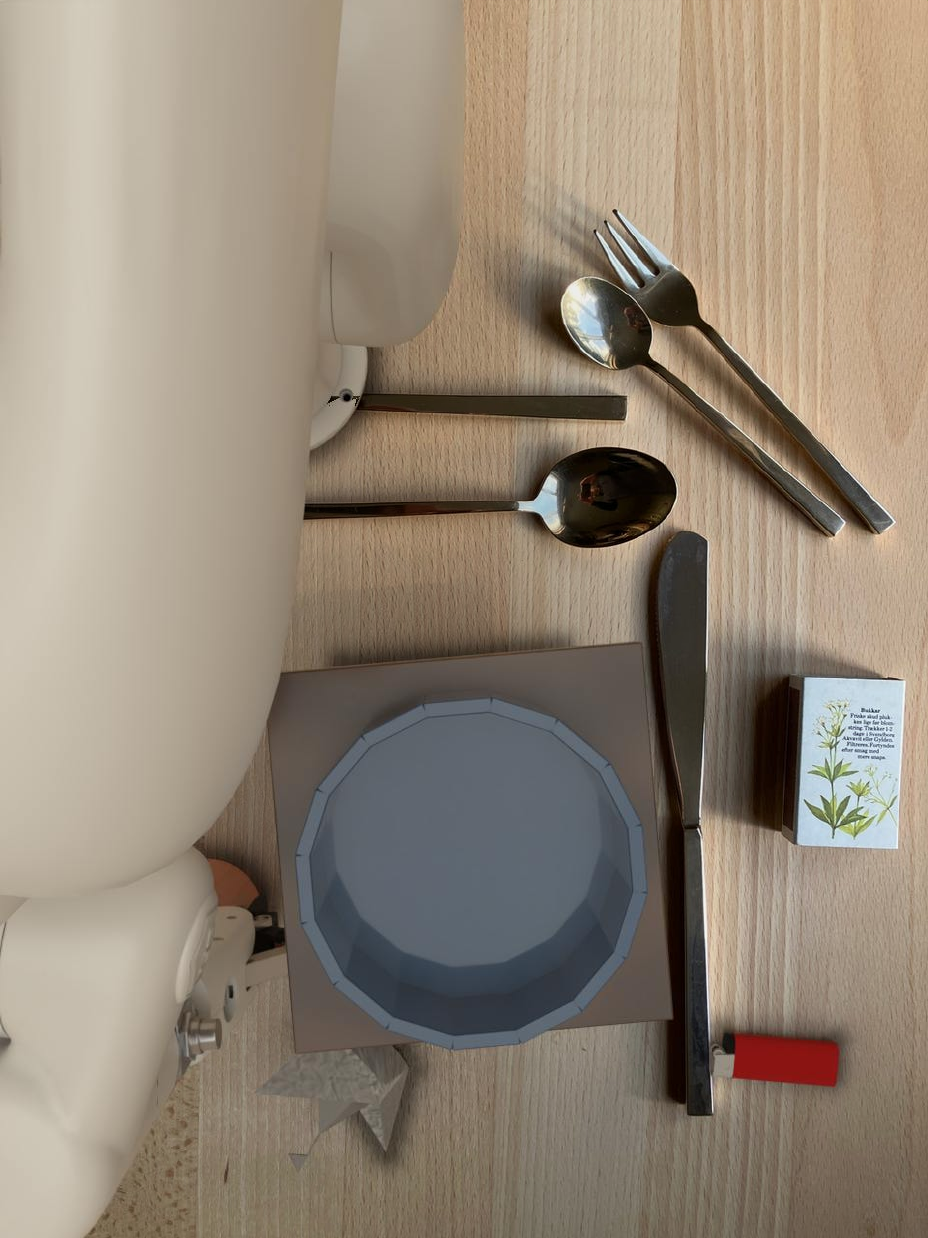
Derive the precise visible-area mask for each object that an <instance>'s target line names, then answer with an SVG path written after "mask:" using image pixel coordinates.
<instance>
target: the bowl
mask: <svg viewBox="0 0 928 1238" xmlns="http://www.w3.org/2000/svg"><path fill="white" fill-rule="evenodd" d="M641 823H642V822H641V820H640V818H639V816H638V814H637V812H636V810H635V808H634V806H633V804H632V802H631V801H630V799H629V797H628V795H627V793H626V791H625V789H624V787H623V785H622V783H621V781H620V779H619V777H618V775H617V773H616V771H615V769H614V767H613V766H612V764H611V763H610V762H609V761H608V760H607V759H606V758H605V757H604V756H603V755H602V754H600V753H599V752H598V751H597V750H596V749H595V748H594V747H592V746H591V745H590V744H589V743H588V742H586V741H585V740H584V739H583V738H582V737H581V736H579V735H578V734H577V733H576V732H575V731H573V730H572V729H571V728H570V727H569V726H568V725H566V724H565V723H564V722H563V721H562V720H560V719H559V718H558V717H557V716H556V715H555V714H553V713H552V712H551V711H550V710H549V709H547V708H545V707H543V706H540V705H537V704H534V703H530V702H527V701H524V700H521V699H518V698H515V697H511V696H508V695H505V694H502V693H499V692H496V691H493V690H489V689H487V690H486V689H479V690H467V691H455V692H443V693H432V694H426V695H422V696H420V697H418V698H416V699H414V700H412V701H410V702H408V703H407V704H405V705H403V706H401V707H399V708H397V709H395V710H393V711H391V712H389V713H387V714H385V715H383V716H381V717H379V718H377V719H376V720H374V721H372V722H370V723H369V724H368V725H367V726H366V727H365V728H364V730H363V731H362V732H361V733H360V734H359V735H358V737H357V738H356V739H355V740H354V741H353V743H352V744H351V745H350V746H349V747H348V748H347V750H346V751H345V752H344V753H343V754H342V756H341V757H340V758H339V759H338V760H337V761H336V763H335V764H334V765H333V766H332V767H331V769H330V770H329V771H328V773H327V774H326V775H325V777H324V778H323V779H322V781H321V782H320V783H319V785H318V786H317V788H316V789H315V792H314V795H313V798H312V801H311V804H310V807H309V810H308V813H307V817H306V820H305V823H304V826H303V829H302V832H301V835H300V839H299V842H298V845H297V848H296V851H295V854H296V855H295V868H296V880H297V891H298V903H299V915H300V922H301V923H302V924H301V926H302V928H303V930H304V932H305V934H306V936H307V938H308V940H309V942H310V944H311V946H312V948H313V949H314V951H315V953H316V955H317V957H318V959H319V961H320V963H321V965H322V967H323V969H324V971H325V973H326V974H327V976H328V978H329V980H330V982H331V984H332V985H334V987H335V988H336V989H337V990H338V991H340V992H341V993H342V994H343V995H344V996H346V997H347V998H348V999H349V1000H350V1001H352V1002H353V1003H354V1004H355V1005H356V1006H358V1007H359V1008H360V1009H361V1010H362V1011H364V1012H365V1013H366V1014H367V1015H368V1016H370V1017H371V1018H372V1019H373V1020H374V1021H376V1022H377V1023H378V1024H379V1025H380V1026H382V1027H383V1028H384V1029H386V1028H387V1030H388V1031H390V1032H393V1033H397V1034H400V1035H403V1036H406V1037H410V1038H413V1039H416V1040H419V1041H422V1043H426V1044H429V1045H433V1046H435V1047H439V1048H442V1049H445V1050H449V1051H464V1050H475V1049H485V1048H486V1049H487V1048H497V1047H507V1046H519V1045H523V1044H525V1043H527V1042H529V1041H531V1040H533V1039H534V1038H537V1037H538V1036H540V1035H542V1034H544V1033H546V1032H549V1031H548V1030H550V1029H552V1028H554V1027H556V1026H557V1025H559V1024H561V1023H563V1022H565V1021H567V1020H569V1019H571V1018H573V1017H575V1016H577V1015H578V1014H580V1013H582V1011H583V1010H585V1008H586V1007H587V1006H588V1005H589V1004H590V1002H591V1001H592V1000H593V999H594V998H595V996H596V995H597V994H598V993H599V992H600V990H601V989H602V988H603V987H604V986H605V985H606V983H607V982H608V981H609V980H610V979H611V977H612V976H613V975H614V974H615V973H616V971H617V970H618V969H619V968H620V967H621V965H622V964H623V963H624V962H625V961H626V958H628V955H629V952H630V949H631V946H632V943H633V940H634V936H635V933H636V930H637V927H638V924H639V921H640V918H641V915H642V911H643V908H644V905H645V902H646V899H647V896H648V893H647V892H648V883H647V871H646V859H645V847H644V835H643V826H642V824H641Z"/></svg>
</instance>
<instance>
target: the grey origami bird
mask: <svg viewBox="0 0 928 1238" xmlns="http://www.w3.org/2000/svg"><path fill="white" fill-rule="evenodd" d="M409 1070H410V1067H409V1065H408V1064H407V1062H406V1061H405V1059H404V1057H403V1056H402V1054H401V1053H400V1052H399V1051H398V1050H397V1049H396V1048H395V1047H394V1045H389V1046H378V1047H367V1048H357V1049H346V1050H335V1051H324V1052H313V1053H302V1054H294V1056H292V1058H290V1059H289V1060H288V1061H287V1062H285V1064H284V1065H283V1066H282V1067H281V1068H279V1069H278V1070H277V1071H276V1072H275V1073H274V1074H273V1075H272V1076H271V1077H270V1078H268V1079H267V1080H266V1081H265V1082H264V1083H263V1084H262V1085H261V1086H259V1088H258V1089H257V1090H256V1091H254V1093H253V1095H265V1096H277V1097H278V1096H279V1097H290V1098H300V1099H301V1098H302V1099H313V1100H318V1134H317V1136H316V1138H315V1140H314V1141H313V1143H312V1144H311V1147H310V1148H309V1150H308V1151H307V1153H305V1154H304V1153H290V1152H288V1155H289V1158H290V1159H291V1162H292V1163H293V1166H294V1168H295V1170H296V1172H297V1173H300V1171H301V1170H302V1168H303V1166H304V1164H305V1163H306V1161H307V1159H308V1157H309V1155H310V1154H311V1152H312V1150H313V1149H314V1147H315V1145H316V1144H317V1142H318V1140H319V1138H320V1136H321V1135H322V1134H324V1133H325V1132H327V1131H329V1130H330V1129H332V1128H333V1127H335V1126H336V1125H338V1124H340V1123H341V1122H343V1121H344V1120H346V1119H347V1118H349V1117H351V1116H353V1115H354V1114H356V1113H357V1112H360V1113H361V1115H362V1116H363V1118H364V1120H365V1121H366V1123H367V1125H368V1126H369V1127H370V1129H371V1130H372V1132H373V1134H374V1135H375V1137H376V1138H377V1140H378V1141H379V1143H380V1144H381V1146H382V1148H383V1149H384V1151H385V1152H386V1153H387V1151H388V1147H389V1144H390V1140H391V1137H392V1132H393V1129H394V1126H395V1122H396V1118H397V1115H398V1111H399V1107H400V1104H401V1099H402V1095H403V1092H404V1088H405V1084H406V1081H407V1077H408V1073H409Z"/></svg>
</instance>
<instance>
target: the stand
mask: <svg viewBox="0 0 928 1238" xmlns="http://www.w3.org/2000/svg"><path fill="white" fill-rule="evenodd" d="M644 659H645V658H644V649H643V643H642V642H641V641H622V642H609V643H599V644H587V645H576V646H575V645H574V646H563V647H562V646H561V647H551V648H540V649H527V650H516V651H504V652H493V653H492V652H491V653H480V654H470V655H469V654H468V655H458V656H457V655H456V656H446V657H444V656H443V657H432V658H422V659H421V658H420V659H409V660H397V661H386V662H373V663H364V664H352V665H349V664H348V665H340V666H329V667H328V666H327V667H315V668H304V669H292V670H291V669H290V670H281V673H280V679H279V682H278V685H277V689H276V692H275V696H274V699H273V702H272V706H271V709H270V712H269V716H268V719H267V722H266V729H267V731H266V732H267V739H268V741H267V742H268V752H269V753H268V754H269V765H270V776H271V789H272V790H271V791H272V800H273V801H272V802H273V811H274V812H273V813H274V824H275V825H274V826H275V837H276V845H277V846H276V847H277V848H276V849H277V859H278V870H279V871H278V872H279V882H280V883H279V884H280V895H281V907H282V918H283V928H284V931H285V943H286V955H287V967H288V975H287V976H288V989H289V1001H290V1002H289V1003H290V1011H291V1012H290V1013H291V1024H292V1035H293V1046H294V1047H293V1049H294V1055H296V1054H302V1053H313V1052H324V1051H335V1050H346V1049H357V1048H367V1047H378V1046H389V1045H392V1046H398V1045H409V1044H410V1045H411V1044H421V1043H423V1042H422V1041H419V1040H416V1039H413V1038H410V1037H406V1036H403V1035H400V1034H397V1033H393V1032H390V1031H388V1030H387V1028H386V1029H384V1028H383V1027H382V1026H380V1025H379V1024H378V1023H377V1022H376V1021H374V1020H373V1019H372V1018H371V1017H370V1016H368V1015H367V1014H366V1013H365V1012H364V1011H362V1010H361V1009H360V1008H359V1007H358V1006H356V1005H355V1004H354V1003H353V1002H352V1001H350V1000H349V999H348V998H347V997H346V996H344V995H343V994H342V993H341V992H340V991H338V990H337V989H336V988H335V987H334V985H332V984H331V982H330V980H329V978H328V976H327V974H326V973H325V971H324V969H323V967H322V965H321V963H320V961H319V959H318V957H317V955H316V953H315V951H314V949H313V948H312V946H311V944H310V942H309V940H308V938H307V936H306V934H305V932H304V930H303V928H302V926H301V924H302V923H301V922H300V915H299V903H298V891H297V880H296V868H295V855H296V854H295V851H296V848H297V845H298V842H299V839H300V835H301V832H302V829H303V826H304V823H305V820H306V817H307V813H308V810H309V807H310V804H311V801H312V798H313V795H314V792H315V789H316V788H317V786H318V785H319V783H320V782H321V781H322V779H323V778H324V777H325V775H326V774H327V773H328V771H329V770H330V769H331V767H332V766H333V765H334V764H335V763H336V761H337V760H338V759H339V758H340V757H341V756H342V754H343V753H344V752H345V751H346V750H347V748H348V747H349V746H350V745H351V744H352V743H353V741H354V740H355V739H356V738H357V737H358V735H359V734H360V733H361V732H362V731H363V730H364V728H365V727H366V726H367V725H368V724H369V723H370V722H372V721H374V720H376V719H377V718H379V717H381V716H383V715H385V714H387V713H389V712H391V711H393V710H395V709H397V708H399V707H401V706H403V705H405V704H407V703H408V702H410V701H412V700H414V699H416V698H418V697H420V696H422V695H426V694H432V693H443V692H455V691H467V690H479V689H486V690H487V689H489V690H493V691H496V692H499V693H502V694H505V695H508V696H511V697H515V698H518V699H521V700H524V701H527V702H530V703H534V704H537V705H540V706H543V707H545V708H547V709H549V710H550V711H551V712H552V713H553V714H555V715H556V716H557V717H558V718H559V719H560V720H562V721H563V722H564V723H565V724H566V725H568V726H569V727H570V728H571V729H572V730H573V731H575V732H576V733H577V734H578V735H579V736H581V737H582V738H583V739H584V740H585V741H586V742H588V743H589V744H590V745H591V746H592V747H594V748H595V749H596V750H597V751H598V752H599V753H600V754H602V755H603V756H604V757H605V758H606V759H607V760H608V761H609V762H610V763H611V764H612V766H613V767H614V769H615V771H616V773H617V775H618V777H619V779H620V781H621V783H622V785H623V787H624V789H625V791H626V793H627V795H628V797H629V799H630V801H631V802H632V804H633V806H634V808H635V810H636V812H637V814H638V816H639V818H640V820H641V822H642V823H641V824H642V826H643V835H644V847H645V859H646V871H647V883H648V892H647V893H648V896H647V899H646V902H645V905H644V908H643V911H642V915H641V918H640V921H639V924H638V927H637V930H636V933H635V936H634V940H633V943H632V946H631V949H630V952H629V955H628V958H626V961H625V962H624V963H623V964H622V965H621V967H620V968H619V969H618V970H617V971H616V973H615V974H614V975H613V976H612V977H611V979H610V980H609V981H608V982H607V983H606V985H605V986H604V987H603V988H602V989H601V990H600V992H599V993H598V994H597V995H596V996H595V998H594V999H593V1000H592V1001H591V1002H590V1004H589V1005H588V1006H587V1007H586V1008H585V1010H583V1011H582V1013H580V1014H578V1015H577V1016H575V1017H573V1018H571V1019H569V1020H567V1021H565V1022H563V1023H561V1024H559V1025H557V1026H556V1027H554V1028H552V1029H550V1030H548V1031H547V1032H552V1031H562V1030H563V1031H564V1030H573V1029H583V1028H594V1027H605V1026H606V1027H607V1026H614V1025H615V1026H617V1025H628V1024H629V1025H630V1024H639V1023H640V1024H641V1023H651V1022H660V1021H672V1020H674V1007H673V997H672V996H673V995H672V984H671V971H670V960H669V948H668V937H667V926H666V925H667V924H666V923H667V922H666V912H665V900H664V888H663V878H662V877H663V876H662V866H661V852H660V841H659V840H660V839H659V829H658V827H659V826H658V817H657V806H656V805H657V804H656V803H657V802H656V795H655V793H656V791H655V779H654V769H653V756H652V744H651V733H650V732H651V731H650V720H649V709H648V706H649V705H648V696H647V683H646V672H645V660H644Z"/></svg>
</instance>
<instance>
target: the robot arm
mask: <svg viewBox="0 0 928 1238" xmlns="http://www.w3.org/2000/svg"><path fill="white" fill-rule="evenodd" d="M463 6H464V5H463V0H0V1238H85V1237H86V1236H87V1235H88V1234H90V1232H91V1231H92V1229H93V1228H94V1227H95V1225H96V1224H97V1223H98V1221H99V1219H100V1218H101V1217H102V1215H103V1214H104V1212H105V1210H106V1209H107V1208H108V1206H109V1205H110V1202H111V1201H112V1199H113V1197H114V1195H115V1193H116V1192H117V1190H118V1189H119V1186H120V1185H121V1183H122V1181H123V1179H124V1178H125V1176H126V1174H127V1172H128V1171H129V1169H130V1167H131V1166H132V1164H133V1162H134V1160H135V1159H136V1157H137V1155H138V1153H139V1151H140V1149H142V1146H143V1144H144V1143H145V1141H146V1139H147V1137H148V1135H150V1132H151V1130H152V1128H153V1127H154V1125H155V1124H156V1121H157V1119H158V1118H159V1116H160V1114H161V1113H162V1111H163V1109H164V1107H165V1105H166V1104H167V1102H168V1101H169V1099H170V1097H171V1096H172V1093H173V1092H174V1090H175V1088H176V1087H177V1085H178V1083H179V1081H180V1080H181V1078H183V1077H184V1076H185V1074H186V1072H187V1070H188V1068H189V1067H192V1066H195V1065H198V1064H199V1063H200V1062H202V1061H203V1060H204V1059H205V1058H206V1057H207V1056H208V1055H209V1054H210V1053H212V1052H213V1051H217V1050H220V1049H221V1048H222V1047H221V1046H222V1042H223V1041H225V1039H226V1038H227V1037H228V1036H229V1035H230V1034H231V1032H232V1031H233V1030H234V1029H235V1027H237V1025H238V1024H239V1022H240V1021H241V1019H242V1018H243V1017H244V1016H245V1014H246V1012H247V1010H248V1009H249V1007H250V1005H251V1004H252V1002H253V1000H254V998H255V996H256V993H257V992H258V987H259V984H262V983H266V982H269V981H272V980H275V979H279V978H281V977H285V976H288V967H287V955H286V943H285V931H284V927H282V926H281V927H280V925H279V915H278V911H276V910H275V911H269V902H268V901H269V900H268V895H267V894H263V895H261V894H260V895H259V896H257V898H254V900H253V901H252V903H251V904H250V906H249V907H248V909H247V910H246V909H244V908H241V907H235V906H220V907H218V897H217V894H216V891H215V890H214V878H213V874H212V870H211V867H210V865H209V862H208V861H207V859H208V858H206V857H205V855H204V854H203V853H202V852H201V851H200V850H199V849H197V848H196V847H195V846H193V845H195V844H196V842H197V841H198V840H199V839H201V838H202V837H203V836H204V835H205V834H206V833H207V832H208V831H209V830H210V829H211V828H213V825H215V823H216V821H217V820H218V819H219V817H220V816H221V815H222V813H223V812H224V810H225V809H226V807H227V806H228V805H229V803H230V801H231V800H232V798H233V797H234V795H235V793H236V792H237V790H238V788H239V786H240V785H241V783H242V781H243V780H244V778H245V776H246V774H247V772H248V769H249V768H250V765H251V763H252V760H253V758H254V756H255V753H256V752H257V750H258V748H259V745H260V743H261V739H262V736H263V733H264V731H265V728H266V726H267V719H268V716H269V712H270V709H271V706H272V702H273V699H274V696H275V692H276V689H277V685H278V682H279V679H280V673H281V671H282V666H283V662H284V656H285V650H286V646H287V645H286V644H287V640H288V634H289V628H290V624H291V623H290V622H291V617H292V613H293V612H292V611H293V607H294V601H295V595H296V590H297V584H298V583H297V582H298V575H299V565H300V555H301V545H302V534H303V527H304V526H303V525H304V517H305V516H304V515H305V508H306V507H305V506H306V497H307V496H306V495H307V487H308V477H309V464H310V454H311V453H310V452H311V451H313V450H315V449H318V448H319V447H320V446H322V445H324V444H325V443H327V442H328V441H329V440H331V439H332V438H334V437H335V435H337V434H338V432H340V430H341V429H342V428H343V427H345V425H347V423H348V421H349V420H350V418H351V417H352V416H353V414H354V413H355V411H356V409H357V407H358V405H359V403H360V400H361V398H362V396H363V394H364V390H365V387H366V383H367V382H366V381H367V378H368V377H367V376H368V364H369V363H368V361H369V360H368V357H369V355H368V354H369V353H368V349H367V348H389V347H390V348H391V347H394V346H395V347H396V346H399V345H400V346H401V345H403V344H405V343H407V342H410V341H411V340H414V339H415V338H416V337H418V336H419V335H420V334H421V333H423V332H424V331H425V330H426V328H428V326H429V325H430V324H431V323H432V322H433V320H434V319H435V317H436V315H437V314H438V312H439V310H440V309H441V306H442V305H443V302H444V301H445V298H446V296H447V293H448V291H449V289H450V286H451V282H452V280H453V276H454V272H455V269H456V264H457V259H458V254H459V250H460V249H459V248H460V242H461V234H462V233H461V232H462V221H463V220H462V219H463V209H464V207H463V204H464V202H463V201H464V168H465V167H464V165H465V132H466V130H465V129H466V96H467V54H466V53H467V52H466V34H465V15H464V7H463ZM346 395H348V396H350V399H349V400H348V401H347V400H344V397H345V396H346ZM331 396H339V397H340V398H338V399H336V400H334V401H332V402H330V403H328V401H329V400H330V398H331ZM353 396H360V397H359V400H358V402H357V404H356V406H355V403H356V399H357V398H356V399H353V400H352V398H353ZM327 403H328V404H327ZM329 405H330V406H329Z"/></svg>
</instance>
